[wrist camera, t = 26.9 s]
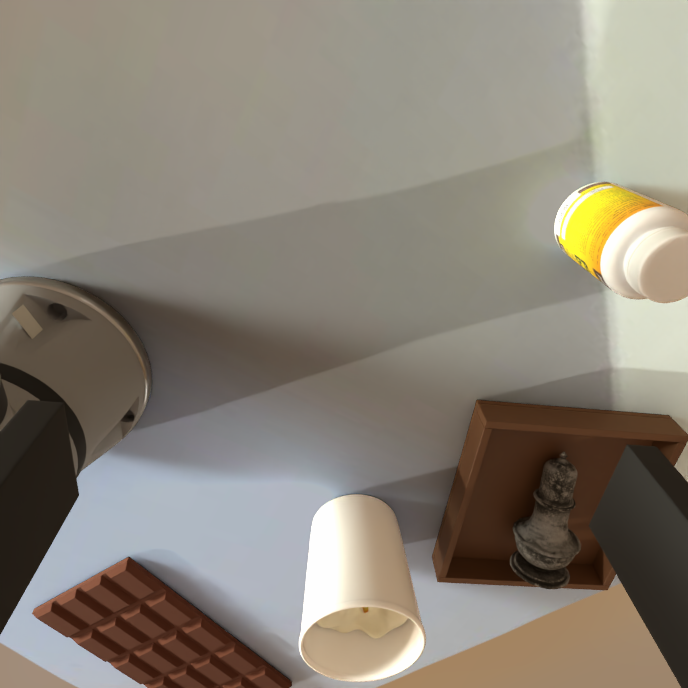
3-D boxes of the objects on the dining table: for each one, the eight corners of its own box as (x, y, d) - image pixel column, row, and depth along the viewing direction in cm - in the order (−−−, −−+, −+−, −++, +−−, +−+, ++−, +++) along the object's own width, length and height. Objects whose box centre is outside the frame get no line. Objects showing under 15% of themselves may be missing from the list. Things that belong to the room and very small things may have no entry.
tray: (593, 565, 55) (607, 590, 52) (431, 556, 53) (437, 582, 51) (669, 415, 46) (690, 436, 43) (476, 399, 44) (486, 421, 42)
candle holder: (400, 558, 53) (419, 681, 43) (304, 559, 53) (299, 683, 42) (409, 486, 49) (433, 604, 38) (303, 486, 48) (298, 605, 38)
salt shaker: (498, 571, 48) (521, 452, 44) (516, 540, 52) (538, 430, 49) (565, 601, 45) (595, 476, 41) (578, 565, 49) (606, 450, 46)
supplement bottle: (537, 244, 38) (603, 300, 29) (576, 168, 35) (662, 204, 26) (603, 266, 39) (687, 328, 30) (645, 194, 36) (751, 237, 27)
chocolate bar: (34, 608, 55) (29, 617, 54) (128, 556, 52) (125, 565, 51) (205, 718, 66) (203, 727, 65) (291, 681, 63) (291, 690, 62)
